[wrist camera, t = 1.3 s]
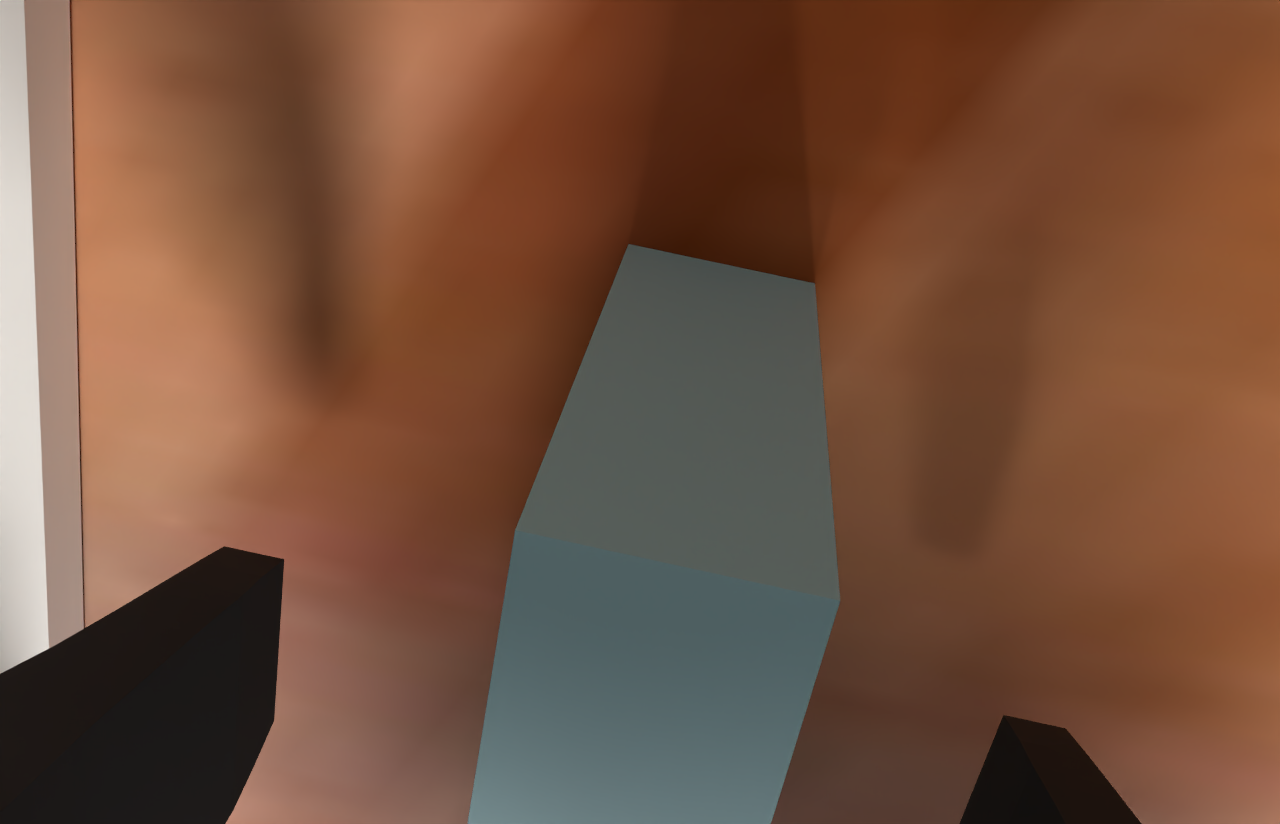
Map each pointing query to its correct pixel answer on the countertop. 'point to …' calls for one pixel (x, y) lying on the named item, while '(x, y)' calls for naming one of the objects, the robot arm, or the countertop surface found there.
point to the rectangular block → (669, 562)
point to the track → (38, 336)
